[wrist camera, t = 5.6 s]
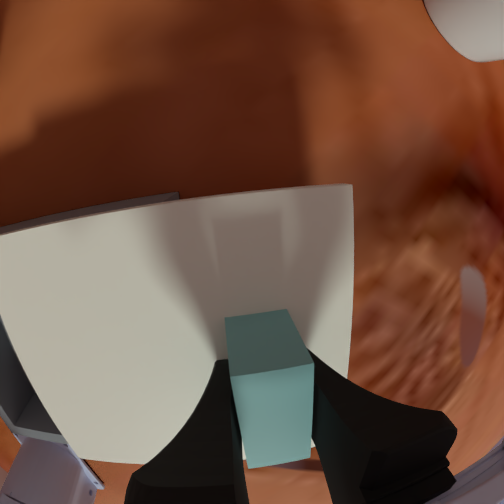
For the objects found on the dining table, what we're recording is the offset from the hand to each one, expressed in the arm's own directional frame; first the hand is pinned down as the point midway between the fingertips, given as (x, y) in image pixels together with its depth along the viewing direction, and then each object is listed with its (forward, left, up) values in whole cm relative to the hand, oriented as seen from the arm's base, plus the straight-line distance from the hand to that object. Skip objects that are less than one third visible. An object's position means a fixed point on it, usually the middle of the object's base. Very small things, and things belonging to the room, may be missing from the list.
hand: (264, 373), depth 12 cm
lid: (0, +4, -1) cm, 4 cm away
